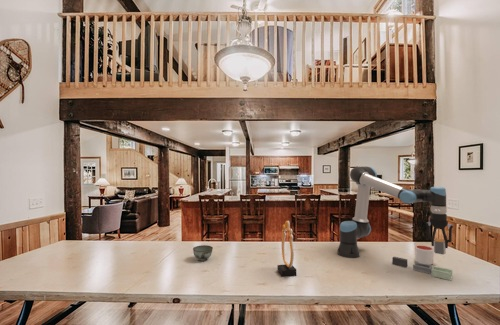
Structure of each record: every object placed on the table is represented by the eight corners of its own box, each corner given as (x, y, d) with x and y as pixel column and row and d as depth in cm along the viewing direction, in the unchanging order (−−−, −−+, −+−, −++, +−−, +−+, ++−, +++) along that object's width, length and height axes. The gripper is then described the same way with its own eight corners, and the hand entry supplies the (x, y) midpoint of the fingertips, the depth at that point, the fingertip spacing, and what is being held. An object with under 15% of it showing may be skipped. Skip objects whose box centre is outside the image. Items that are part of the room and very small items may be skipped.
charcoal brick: (392, 264, 171) (392, 257, 171) (393, 263, 173) (393, 256, 173) (406, 267, 165) (406, 260, 165) (407, 266, 167) (407, 259, 168)
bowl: (188, 261, 175) (188, 249, 175) (199, 255, 188) (199, 244, 188) (206, 264, 170) (206, 252, 170) (216, 257, 183) (216, 246, 183)
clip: (413, 270, 161) (412, 265, 161) (415, 266, 166) (415, 262, 166) (430, 274, 155) (430, 269, 155) (432, 270, 160) (432, 265, 160)
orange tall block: (435, 253, 154) (434, 239, 154) (436, 251, 157) (435, 238, 157) (443, 254, 151) (443, 240, 151) (444, 252, 154) (443, 239, 154)
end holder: (431, 276, 152) (431, 269, 152) (433, 272, 158) (433, 265, 158) (450, 280, 146) (450, 273, 146) (452, 276, 151) (452, 269, 152)
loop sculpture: (275, 268, 163) (275, 218, 164) (288, 267, 165) (288, 217, 166) (284, 280, 147) (284, 224, 147) (299, 278, 149) (299, 223, 149)
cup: (436, 266, 168) (436, 250, 168) (419, 265, 170) (419, 249, 170) (429, 260, 177) (428, 246, 178) (412, 259, 179) (412, 245, 180)
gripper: (420, 212, 157) (421, 251, 157) (456, 215, 146) (457, 257, 145) (422, 210, 163) (423, 248, 162) (457, 213, 152) (458, 254, 151)
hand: (439, 252), depth 154 cm, fingers closed on orange tall block, 4 cm apart
